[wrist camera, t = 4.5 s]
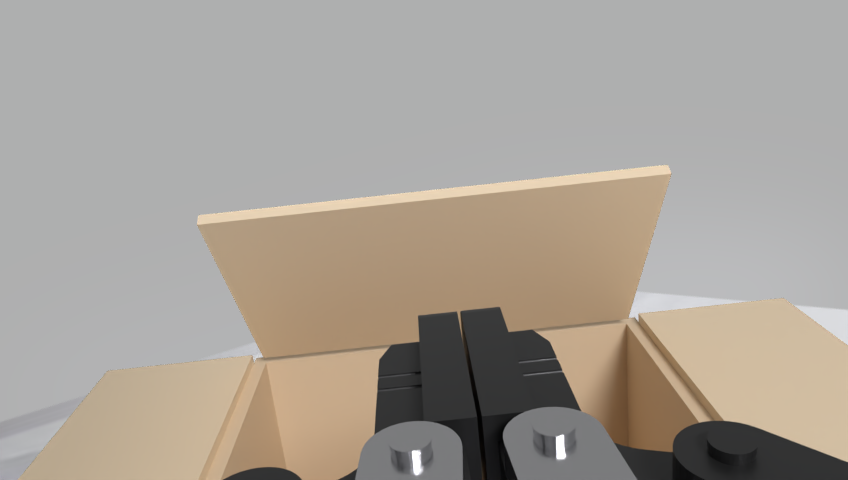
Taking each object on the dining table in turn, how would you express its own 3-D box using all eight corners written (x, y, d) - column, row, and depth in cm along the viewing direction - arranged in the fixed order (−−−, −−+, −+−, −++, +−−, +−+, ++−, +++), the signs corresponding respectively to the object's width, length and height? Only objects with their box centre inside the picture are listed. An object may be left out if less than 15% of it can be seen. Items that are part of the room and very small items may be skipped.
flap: (263, 358, 28) (196, 224, 22) (264, 349, 29) (198, 215, 22) (628, 318, 28) (671, 173, 22) (625, 310, 29) (667, 164, 22)
